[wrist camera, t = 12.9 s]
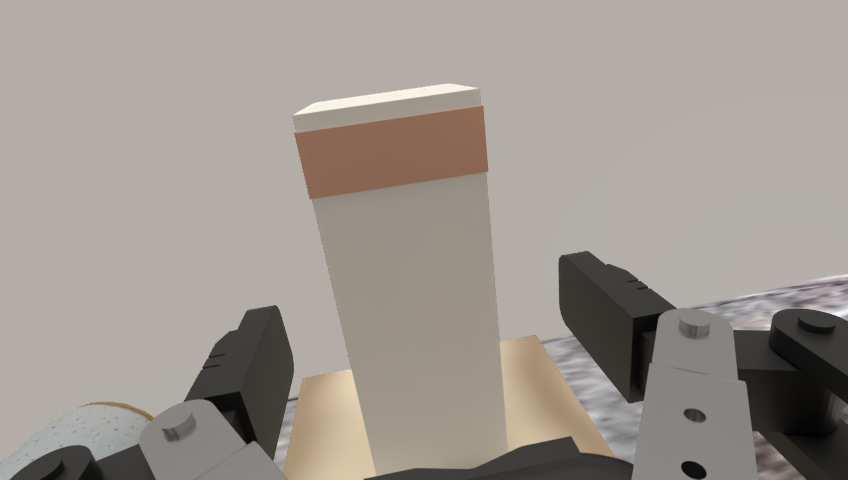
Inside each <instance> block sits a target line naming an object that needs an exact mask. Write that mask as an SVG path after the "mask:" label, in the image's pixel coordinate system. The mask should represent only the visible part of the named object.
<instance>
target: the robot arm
mask: <svg viewBox="0 0 848 480" xmlns="http://www.w3.org/2000/svg"><path fill="white" fill-rule="evenodd" d="M559 305H560V311H561V315H562V318H563V320H564V322H565V324H566V326H567V327H568V328H569V329H570V331H571V332H572V333H573V334H574V336H575V337H576V338H577V339H578V341H579V342H580V343H581V344H582V346H583V347H584V348H585V349H586V351H587V352H588V353H589V354H590V356H591V357H592V358H593V359H594V361H595V362H596V363H597V364H598V366H599V367H600V368H601V369H602V371H603V372H604V373H605V374H606V376H607V377H608V378H609V379H610V381H611V382H612V383H613V384H614V386H615V387H616V388H617V389H618V391H619V392H620V393H621V394H622V396H623V397H624V398H625V399H626V401H627V402H628V403H634V402H639V401H644V403H643V409H642V416H641V422H640V428H639V435H638V441H637V448H636V454H635V460H634V464H631V463H629V462H627V461H624V460H620V459H617V458H614V457H610V456H606V455H601V454H594V453H581V452H580V451H579V449H578V447H577V445H576V444H575V442H574V440H573V438H572V437H571V436H568V437H564V438H559V439H554V440H549V441H544V442H539V443H535V444H530V445H525V446H521V447H519V448H517V449H514V450H512V451H510V452H508V453H506V454H504V455H502V456H499V457H497V458H495V459H493V460H491V461H489V462H487V463H484V464H482V465H480V466H478V467H475V468H472V469H441V468H413V469H409V470H404V471H399V472H394V473H389V474H384V475H380V476H375V477H370V478H365V479H364V480H758V475H757V467H756V459H755V451H754V442H753V434H752V431H759V433H760V434H761V435H762V436H763V437H764V438H765V439H766V440H767V441H768V442H769V443H770V444H771V445H772V446H773V447H774V448H775V449H776V450H777V451H778V452H779V453H780V454H781V455H782V456H783V457H784V458H785V459H786V460H787V461H788V462H789V463H790V464H791V465H792V466H794V467H795V468H796V469H797V470H798V471H799V472H800V473H801V474H802V475H803V476H804V477H805V478H806V479H807V480H848V425H847V424H846V423H845V422H844V421H842V420H841V419H840V416H841V412H842V409H843V405H844V402H846V403H847V404H848V321H846V320H844V319H842V318H840V317H837V316H835V315H832V314H829V313H825V312H821V311H816V310H809V309H786V310H782V311H779V312H777V313H775V314H774V316H773V318H772V323H771V329H770V331H753V330H733V329H732V327H731V325H730V324H729V323H728V322H727V321H726V320H724V319H723V318H721V317H719V316H717V315H715V314H712V313H709V312H706V311H702V310H697V309H688V308H681V309H677V308H676V307H674V306H673V305H672V304H670V303H669V302H668V301H666V300H665V299H664V298H662V297H661V296H659V295H658V294H657V293H656V292H654V291H653V290H652V289H648V286H646V285H645V284H644V283H642V282H641V281H638V279H637V278H636V277H634V276H633V275H632V274H630V273H629V272H628V271H626V270H624V269H621V268H618V267H616V266H613V265H610V264H607V265H605V264H604V263H603V262H601V261H600V260H599V259H598V258H596V257H595V256H594V255H592V254H591V253H590V252H588V251H584V252H579V253H573V254H567V255H562V256H561V257H560V259H559ZM293 374H294V363H293V356H292V351H291V348H290V345H289V341H288V338H287V334H286V331H285V327H284V324H283V321H282V317H281V314H280V311H279V309H278V307H277V306H276V305H274V306H268V307H262V308H257V309H251V310H247V312H246V313H245V315H244V318H243V319H242V321H241V323H240V325H239V327H238V329H237V330H234V331H230V332H228V333H227V334H226V335H225V336H224V337H223V338H221V340H219V341H218V342H217V343H216V344H215V346H214V348H213V349H212V351H211V353H210V355H209V359H207V360H206V362H205V364H204V366H203V370H201V371H200V373H199V375H198V377H197V378H196V380H195V382H194V384H193V386H192V387H191V389H190V391H189V393H188V395H187V397H186V399H185V400H184V402H183V403H180V404H177V405H175V406H173V407H171V408H169V409H167V410H165V411H164V412H162V413H161V414H159V415H158V416H156V417H155V418H154V419H153V420H152V421H151V422H150V423H149V424H148V425H147V426H146V427H145V428H144V430H143V431H142V433H141V435H140V438H139V444H137V445H134V446H132V447H130V448H127V449H125V450H122V451H120V452H117V453H115V454H112V455H110V456H107V457H105V458H102V459H100V460H97V461H96V460H95V458H94V456H93V454H92V452H91V451H90V449H89V448H88V447H86V446H83V445H72V446H67V447H63V448H60V449H57V450H54V451H52V452H50V453H47V454H45V455H43V456H41V457H40V458H38V459H36V460H34V461H33V462H31V463H29V464H28V465H27V466H25V467H24V468H22V469H21V470H20V471H19V472H17V473H16V474H15V475H14V476H13V477H12V478H11V479H10V480H289V479H288V478H287V477H286V476H285V475H284V473H283V472H282V471H281V470H280V469H279V468H278V466H277V465H276V464H275V463H274V462H273V460H274V455H275V451H276V447H277V443H278V438H279V434H280V430H281V426H282V421H283V417H284V413H285V409H286V404H287V400H288V396H289V391H290V387H291V383H292V379H293Z"/></svg>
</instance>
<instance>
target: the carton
mask: <svg viewBox="0 0 848 480" xmlns="http://www.w3.org/2000/svg"><path fill="white" fill-rule="evenodd" d="M292 116H293V121H294V125H295V129H296V133H295V138H296V143H297V147H298V151H299V155H300V160H301V164H302V168H303V172H304V176H305V181H306V185H307V189H308V194H309V198H310V199H312V202H313V206H314V211H315V215H316V219H317V224H318V227H319V232H320V236H321V241H322V245H323V249H324V253H325V258H326V262H327V266H328V271H329V275H330V279H331V283H332V288H333V292H334V296H335V300H336V305H337V309H338V313H339V318H340V322H341V326H342V330H343V335H344V339H345V343H346V348H347V352H348V356H349V360H350V365H351V369H352V373H353V378H354V382H355V386H356V390H357V395H358V399H359V403H360V408H361V412H362V416H363V420H364V425H365V429H366V433H367V438H368V442H369V446H370V450H371V455H372V459H373V463H374V468H375V472H376V476H380V475H384V474H389V473H394V472H399V471H404V470H409V469H413V468H441V469H472V468H475V467H478V466H480V465H482V464H484V463H487V462H489V461H491V460H493V459H495V458H497V457H499V456H502V455H504V454H506V453H508V443H507V430H506V417H505V405H504V392H503V379H502V366H501V353H500V341H499V328H498V317H497V316H498V315H497V303H496V290H495V277H494V265H493V251H492V238H491V225H490V213H489V200H488V188H487V175H486V172H488V164H487V163H488V162H487V150H486V137H485V123H484V111H483V106H482V105H481V98H480V88H475V87H468V86H462V85H455V84H442V85H435V86H428V87H421V88H414V89H407V90H400V91H393V92H386V93H380V94H372V95H366V96H358V97H351V98H344V99H337V100H330V101H323V102H316V103H313V104H312V105H310V106H308V107H306V108H305V109H303V110H301V111H299V112H297V113H296V114H294V115H292Z"/></svg>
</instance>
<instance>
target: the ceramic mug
mask: <svg viewBox="0 0 848 480" xmlns="http://www.w3.org/2000/svg"><path fill="white" fill-rule="evenodd" d="M153 419H154V417H152V416H151V415H149V414H148V413H146V412H145V411H142V410H140V409H137V408H135V407H132V406H130V405H127V404H122V403H115V402H97V403H90V404H87V405H84V406H81V407H79V408H76V409H74V410H72V411H70V412H68V413H66V414H65V415H63V416H61V417H60V418H58V419H56V420H54V421H53V422H51V423H50V424H49V425H47V426H46V427H45V428H43V429H42V430H40V431H39V432H37V433H36V434H35V435H34V436H33V437H31V438H30V439H29V440H28V441H27V442H26V443H24V444H23V445H22V446H21V447H20V448H19V449H18V450H17V451H15V452H14V453H13V454H11V455H10V456H9V457H8V458H7V459H5V460H4V461H3V462H1V463H0V480H10V479H11V478H12V477H13V476H14V475H15V474H16V473H17V472H19V471H20V470H21V469H22V468H24V467H25V466H27V465H28V464H29V463H31V462H33V461H34V460H36V459H38V458H40V457H41V456H43V455H45V454H47V453H50V452H52V451H54V450H57V449H60V448H63V447H67V446H72V445H83V446H86V447H88V448H89V449H90V451H91V452H92V454H93V456H94V458H95V460H96V461H97V460H100V459H102V458H105V457H107V456H110V455H112V454H115V453H117V452H120V451H122V450H125V449H127V448H130V447H132V446H134V445H137V444H139V438H140V435H141V433H142V431H143V430H144V428H145V427H146V426H147V425H148V424H149V423H150V422H151V421H152V420H153Z"/></svg>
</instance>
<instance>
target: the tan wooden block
mask: <svg viewBox="0 0 848 480" xmlns="http://www.w3.org/2000/svg"><path fill="white" fill-rule="evenodd" d="M500 353H501V366H502V379H503V392H504V405H505V417H506V430H507V443H508V452H510V451H512V450H514V449H517V448H519V447H521V446H525V445H530V444H535V443H539V442H544V441H549V440H554V439H559V438H564V437H568V436H571V437H572V438H573V440H574V442H575V444H576V445H577V447H578V449H579V451H580V452H581V453H594V454H601V455H606V456H610V457H614V458H615V456H614V455H613V453H612V451H611V450H610V448H609V447H608V445H607V444H606V442H605V441H604V439H603V438H602V436H601V434H600V433H599V431H598V430H597V428H596V427H595V425H594V424H593V422H592V421H591V419H590V418H589V416H588V414H587V413H586V411H585V410H584V408H583V407H582V405H581V404H580V402H579V401H578V399H577V397H576V396H575V394H574V393H573V391H572V390H571V388H570V387H569V385H568V384H567V382H566V381H565V379H564V377H563V376H562V374H561V373H560V371H559V370H558V368H557V367H556V365H555V364H554V362H553V360H552V359H551V357H550V356H549V354H548V353H547V351H546V350H545V348H544V347H543V345H542V343H541V342H540V340H539V339H538V337H537V336H536V335H532V336H527V337H521V338H517V339H511V340H506V341H500ZM283 473H284V475H285V476H286V477H287V478H288V479H289V480H364V479H365V478H370V477H375V476H376V472H375V468H374V463H373V459H372V455H371V450H370V446H369V442H368V438H367V433H366V429H365V425H364V420H363V416H362V412H361V408H360V403H359V399H358V395H357V390H356V386H355V382H354V378H353V373H352V369H349V370H344V371H338V372H333V373H328V374H322V375H317V376H312V377H306V378H303V379H302V383H301V388H300V393H299V398H298V403H297V408H296V412H295V417H294V422H293V427H292V432H291V437H290V442H289V447H288V451H287V456H286V461H285V466H284V471H283Z"/></svg>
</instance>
